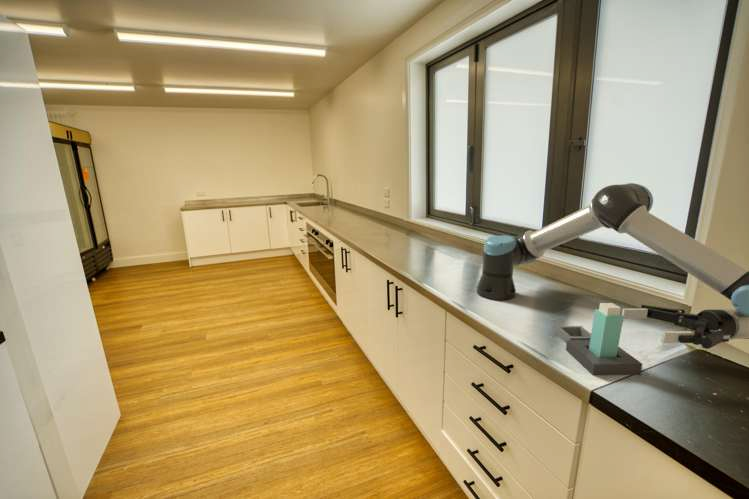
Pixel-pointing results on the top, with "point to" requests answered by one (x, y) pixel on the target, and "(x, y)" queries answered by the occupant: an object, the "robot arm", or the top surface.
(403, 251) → the top surface
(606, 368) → the port block
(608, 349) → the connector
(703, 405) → the top surface
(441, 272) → the top surface
